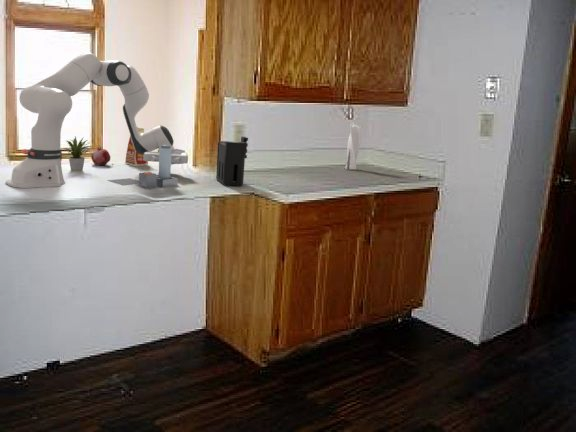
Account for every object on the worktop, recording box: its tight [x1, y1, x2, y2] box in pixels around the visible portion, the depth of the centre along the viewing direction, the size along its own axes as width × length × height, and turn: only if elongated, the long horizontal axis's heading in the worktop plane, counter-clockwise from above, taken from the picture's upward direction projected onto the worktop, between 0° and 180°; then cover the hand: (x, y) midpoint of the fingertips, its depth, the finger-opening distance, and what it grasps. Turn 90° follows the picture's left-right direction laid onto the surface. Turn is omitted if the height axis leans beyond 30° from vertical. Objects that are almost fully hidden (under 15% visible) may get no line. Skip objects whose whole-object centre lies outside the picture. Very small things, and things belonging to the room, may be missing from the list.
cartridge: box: [158, 145, 172, 179], centre depth 256 cm, size 5×5×17 cm
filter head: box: [135, 172, 179, 190], centre depth 255 cm, size 16×10×6 cm, turn 140°
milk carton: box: [124, 126, 149, 167], centre depth 308 cm, size 9×9×20 cm
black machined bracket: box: [215, 136, 249, 187], centre depth 279 cm, size 12×21×22 cm, turn 21°
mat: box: [106, 178, 139, 186], centre depth 257 cm, size 12×12×1 cm
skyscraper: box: [342, 121, 362, 171], centre depth 354 cm, size 8×8×28 cm
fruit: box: [90, 146, 111, 166], centre depth 297 cm, size 9×10×10 cm
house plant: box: [63, 135, 92, 173], centre depth 275 cm, size 14×14×16 cm
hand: (165, 160), depth 267 cm, fingers open, 8 cm apart
